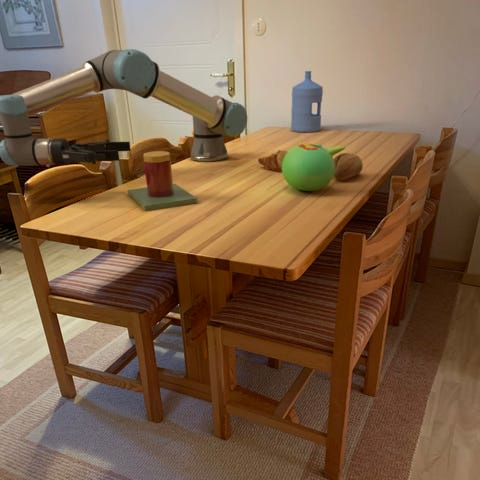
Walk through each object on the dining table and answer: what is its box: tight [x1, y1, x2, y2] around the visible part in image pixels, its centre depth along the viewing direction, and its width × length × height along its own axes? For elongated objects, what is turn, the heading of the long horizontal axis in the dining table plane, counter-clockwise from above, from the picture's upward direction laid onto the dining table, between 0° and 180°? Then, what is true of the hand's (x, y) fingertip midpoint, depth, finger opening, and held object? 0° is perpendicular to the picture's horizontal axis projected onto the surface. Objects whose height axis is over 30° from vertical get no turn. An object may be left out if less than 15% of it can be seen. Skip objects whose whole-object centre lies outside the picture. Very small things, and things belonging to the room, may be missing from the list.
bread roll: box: [333, 152, 364, 181], centre depth 166 cm, size 10×15×8 cm, turn 149°
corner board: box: [127, 182, 198, 212], centre depth 150 cm, size 20×16×2 cm
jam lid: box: [143, 150, 171, 163], centre depth 145 cm, size 8×8×2 cm
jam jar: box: [143, 159, 174, 197], centre depth 147 cm, size 8×8×11 cm
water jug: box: [290, 70, 324, 133], centre depth 250 cm, size 16×16×28 cm
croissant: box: [257, 149, 288, 172], centre depth 180 cm, size 21×10×8 cm, turn 63°
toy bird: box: [281, 141, 346, 192], centre depth 153 cm, size 18×17×15 cm
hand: (124, 150), depth 144 cm, fingers open, 13 cm apart
